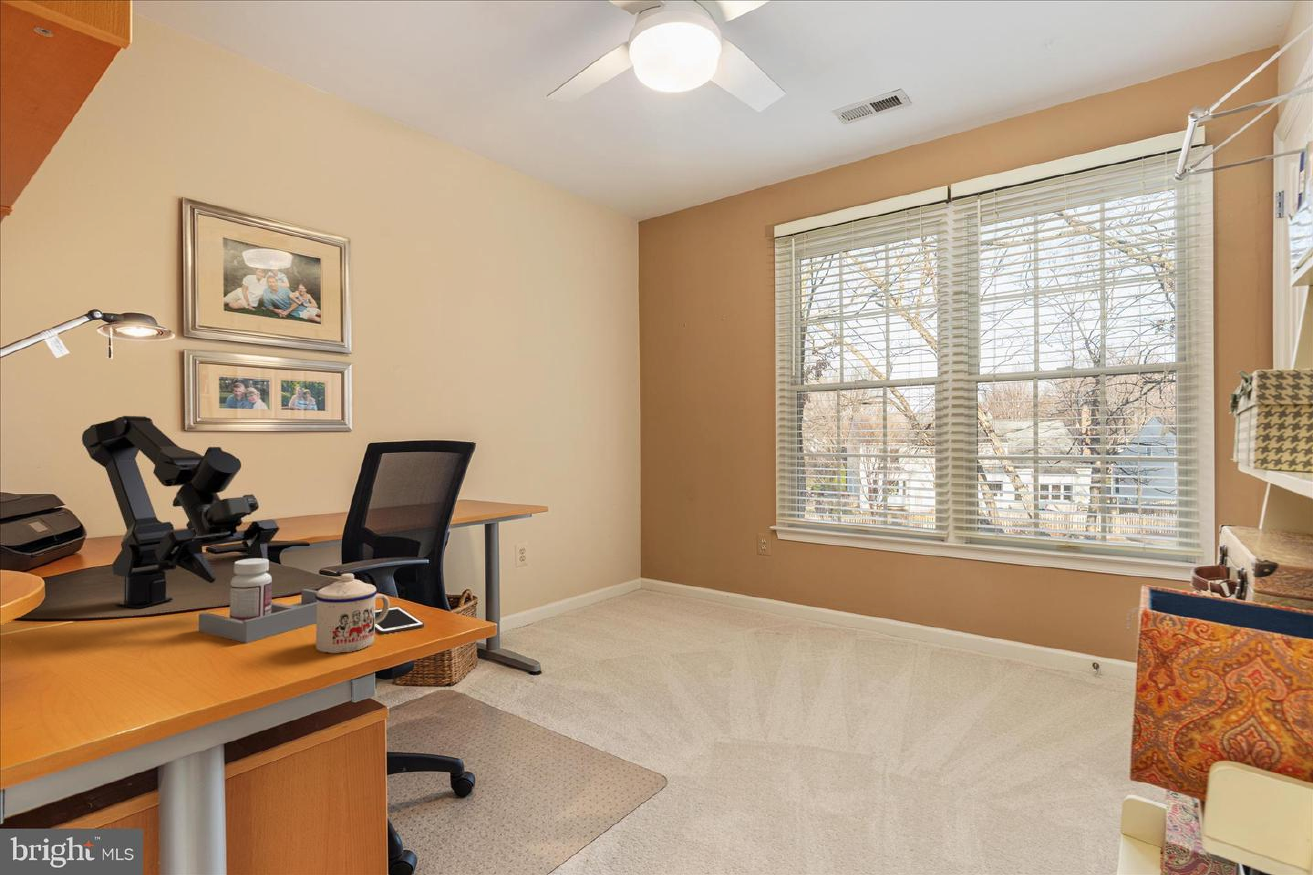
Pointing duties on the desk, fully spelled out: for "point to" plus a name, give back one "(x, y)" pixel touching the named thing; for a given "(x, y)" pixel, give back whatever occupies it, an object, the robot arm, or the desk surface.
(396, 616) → the cell phone
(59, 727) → the desk surface
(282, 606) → the tray
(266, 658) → the desk surface
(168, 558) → the robot arm
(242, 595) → the pill bottle
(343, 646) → the teacup with lid
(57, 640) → the desk surface
